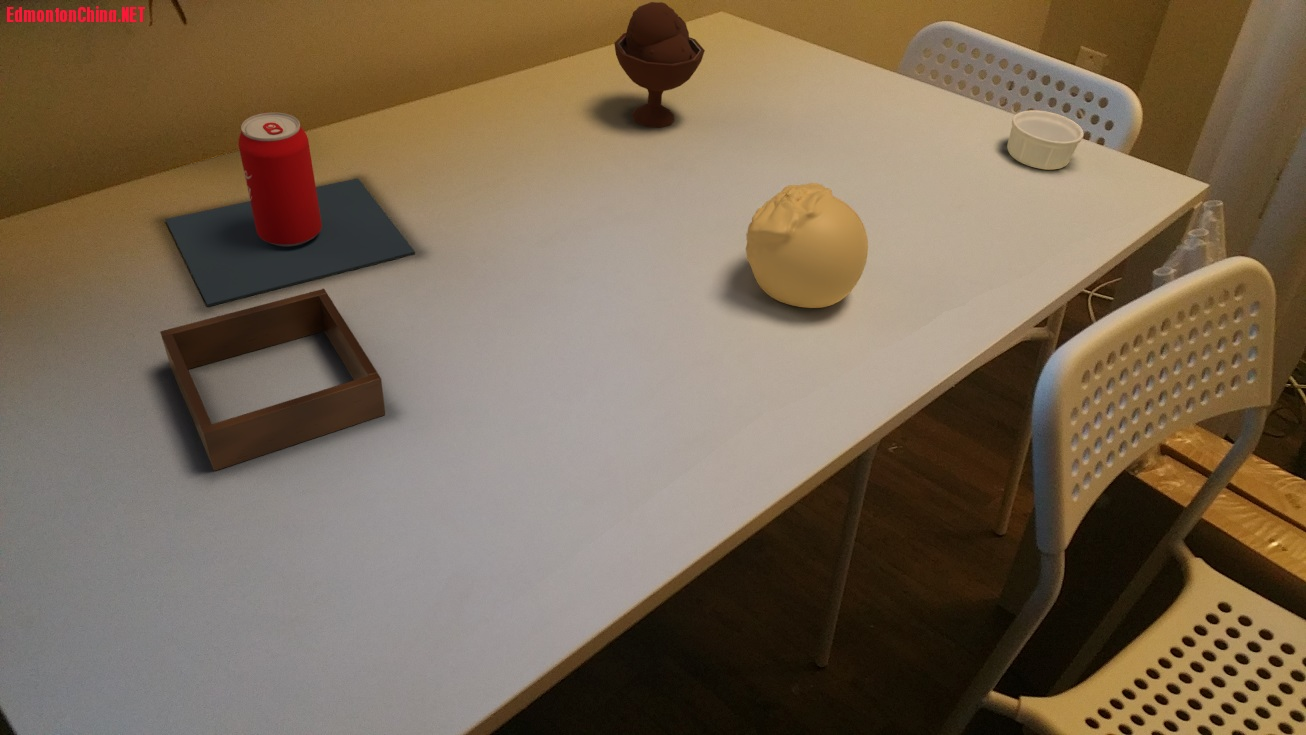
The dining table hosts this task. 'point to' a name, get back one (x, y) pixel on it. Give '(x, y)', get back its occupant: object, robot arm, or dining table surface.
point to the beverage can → (280, 179)
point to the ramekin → (1043, 139)
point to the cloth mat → (248, 265)
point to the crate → (287, 418)
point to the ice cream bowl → (657, 58)
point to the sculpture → (807, 247)
